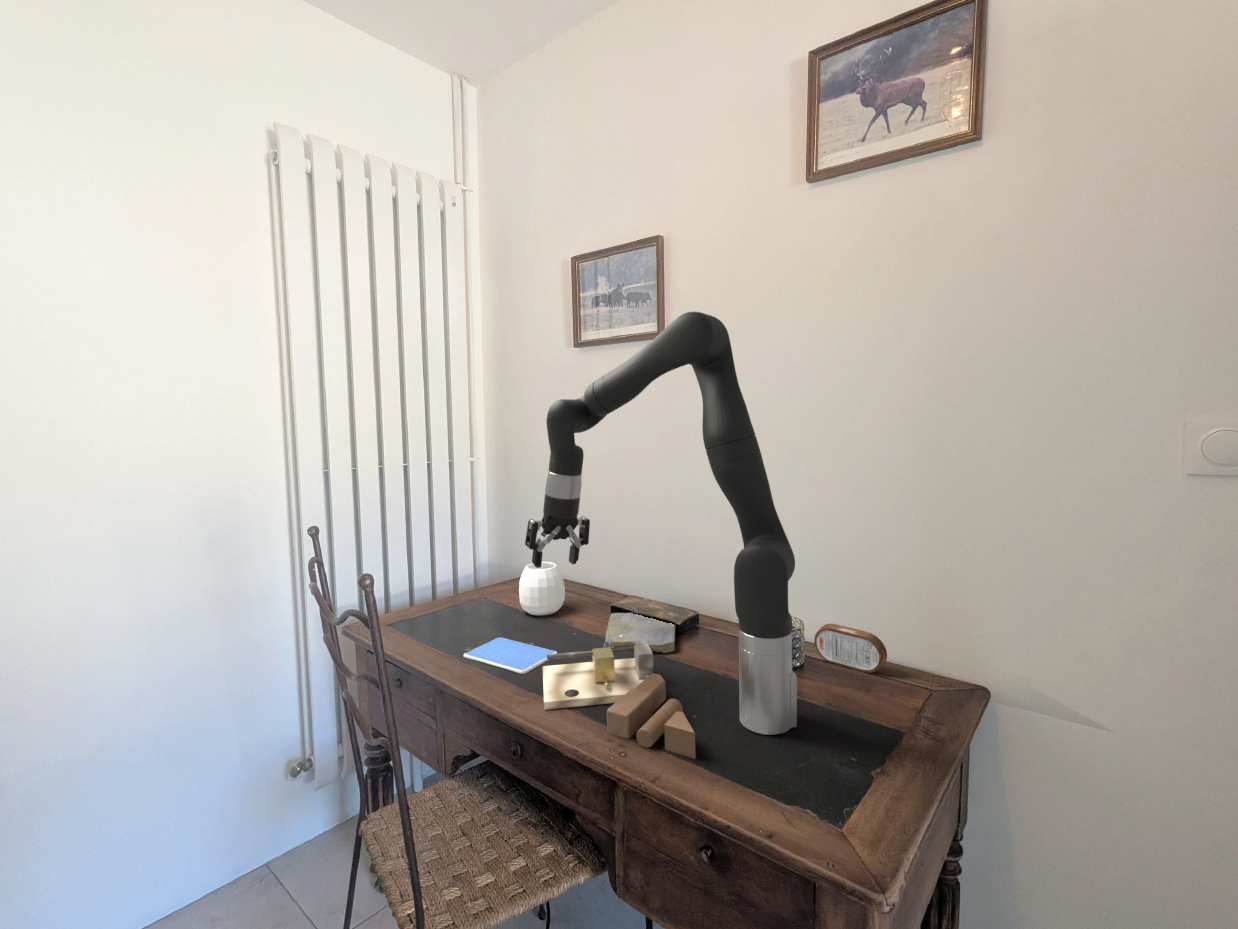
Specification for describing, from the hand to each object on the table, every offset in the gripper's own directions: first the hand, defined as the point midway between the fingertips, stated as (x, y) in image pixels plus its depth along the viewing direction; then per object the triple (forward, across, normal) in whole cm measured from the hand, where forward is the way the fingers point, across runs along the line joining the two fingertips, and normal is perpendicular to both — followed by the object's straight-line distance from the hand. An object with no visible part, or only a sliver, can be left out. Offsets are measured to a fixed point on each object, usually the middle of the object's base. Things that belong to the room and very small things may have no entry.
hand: (555, 564), depth 124 cm
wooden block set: (+18, +8, -35) cm, 40 cm away
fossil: (+23, +27, 0) cm, 35 cm away
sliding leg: (+19, +5, -17) cm, 26 cm away
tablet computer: (+27, -4, +10) cm, 29 cm away
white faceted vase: (+28, +16, +32) cm, 46 cm away
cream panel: (+21, +5, -15) cm, 27 cm away
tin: (+14, +53, -40) cm, 68 cm away
